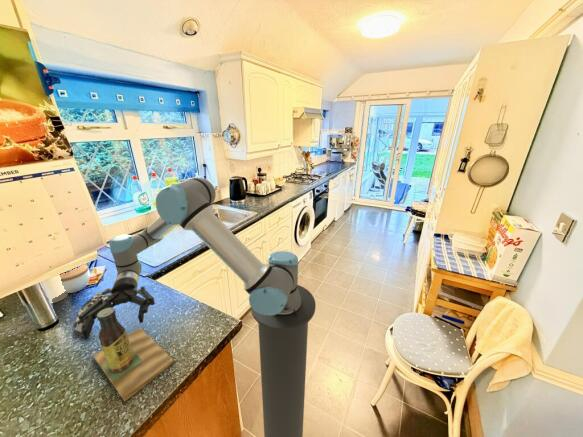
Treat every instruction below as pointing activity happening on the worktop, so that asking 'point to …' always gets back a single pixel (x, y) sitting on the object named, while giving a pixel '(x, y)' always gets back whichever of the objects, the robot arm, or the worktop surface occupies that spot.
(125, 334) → the sauce bottle
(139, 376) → the chopping board
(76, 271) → the lidded bowl
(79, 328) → the knife
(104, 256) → the worktop surface
